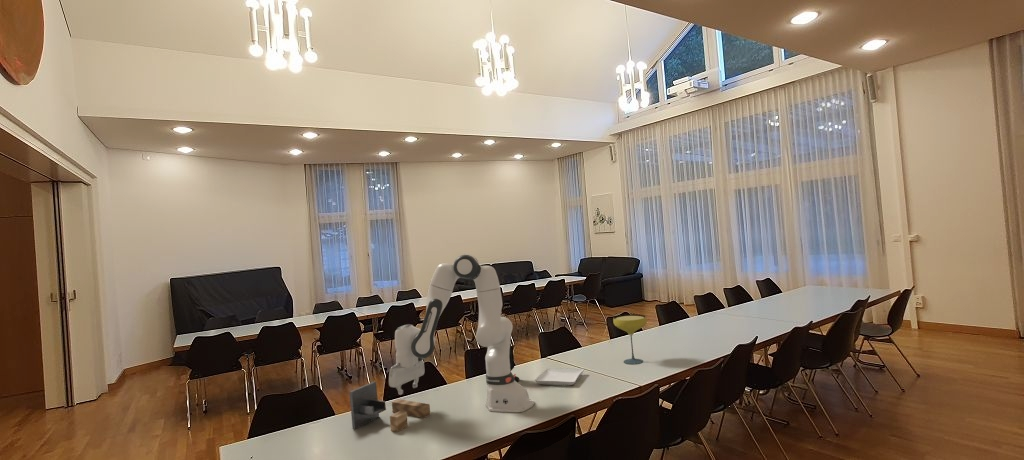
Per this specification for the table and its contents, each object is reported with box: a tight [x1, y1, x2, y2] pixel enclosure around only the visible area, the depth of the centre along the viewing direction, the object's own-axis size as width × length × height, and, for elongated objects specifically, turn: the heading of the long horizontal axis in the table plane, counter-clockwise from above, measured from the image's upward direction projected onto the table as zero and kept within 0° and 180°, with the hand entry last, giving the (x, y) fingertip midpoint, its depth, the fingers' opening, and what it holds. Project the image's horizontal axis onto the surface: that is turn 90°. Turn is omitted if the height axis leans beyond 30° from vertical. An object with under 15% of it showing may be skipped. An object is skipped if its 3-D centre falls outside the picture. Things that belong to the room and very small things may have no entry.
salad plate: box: [534, 368, 585, 386], centre depth 248 cm, size 21×21×3 cm
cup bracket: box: [349, 381, 387, 430], centre depth 210 cm, size 10×14×16 cm
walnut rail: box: [391, 398, 431, 419], centre depth 219 cm, size 20×4×5 cm, turn 57°
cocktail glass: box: [612, 313, 647, 365], centre depth 269 cm, size 18×18×25 cm
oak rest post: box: [389, 411, 409, 433], centre depth 202 cm, size 4×6×6 cm, turn 150°
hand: (408, 390), depth 219 cm, fingers open, 8 cm apart
